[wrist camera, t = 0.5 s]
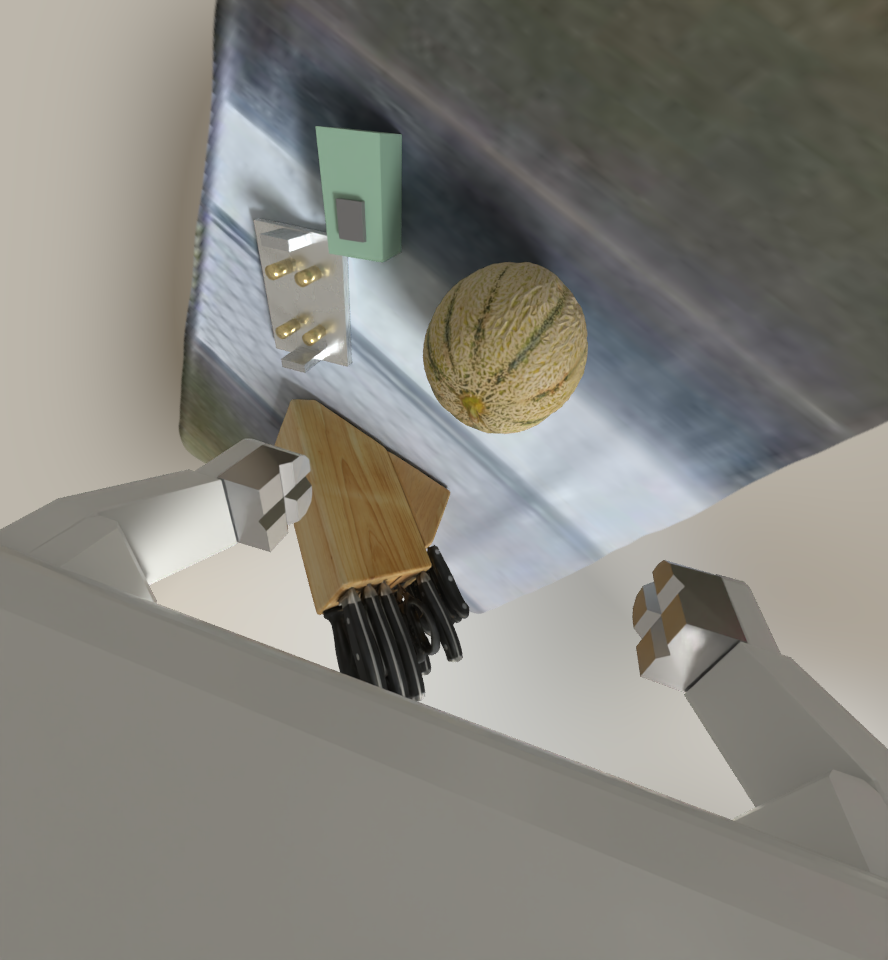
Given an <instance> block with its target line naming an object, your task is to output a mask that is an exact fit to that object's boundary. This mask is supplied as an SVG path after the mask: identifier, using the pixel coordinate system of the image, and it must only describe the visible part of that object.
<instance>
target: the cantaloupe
mask: <svg viewBox="0 0 888 960" xmlns="http://www.w3.org/2000/svg"><path fill="white" fill-rule="evenodd" d="M587 348H588V342H587V329H586V323H585V318H584V314H583V312H582V308H581V306H580V305H579V304H578V302H577V301H576V299H575V297H574V296H573V294H572V293H571V291H570V290H569V289H568V288H567V287H566V286H565V285H564V284H563V283H562V281H561V280H560V279H559V278H558V277H557V276H556V275H555V274H553V273H552V272H551V271H549V270H548V269H546V268H544V267H542V266H539V265H537V264H532V263H530V262H523V263H512V262H504V263H498V264H491V265H490V266H486V267H485V268H482V269H479V270H477V271H476V272H474V273H473V274H470V275H469V276H468V277H466V278H464V279H462V280H461V281H459V282H458V283H457V284H456V285H455V286H454V287H452V289H451V290H450V291H449V292H448V293H447V294H446V295H445V296H444V298H443V299H442V301H441V303H440V304H439V305H438V307H437V308H436V311H435V313H434V315H433V317H432V320H431V322H430V324H429V327H428V329H427V333H426V335H425V341H424V349H423V362H424V370H425V372H426V376H427V379H428V381H429V383H430V385H431V388H432V391H433V393H434V395H435V397H436V398H437V400H438V401H439V403H440V404H441V405H442V406H443V407H444V408H445V409H446V410H447V411H449V412H450V413H451V414H452V415H453V416H454V417H455V418H456V419H458V420H459V421H460V422H462V423H464V424H465V425H467V426H470V427H473V428H475V429H478V430H480V431H483V432H486V433H504V434H508V433H516V432H520V431H524V430H526V429H529V428H531V427H533V426H535V425H538V424H539V423H540V422H542V421H543V420H544V419H546V418H547V417H548V416H549V415H550V414H551V413H553V412H556V411H557V410H558V409H559V408H561V407H562V406H563V404H564V403H565V402H566V401H567V400H569V398H570V396H571V394H572V393H573V392H574V390H575V389H576V387H577V385H578V383H579V381H580V379H581V377H582V376H583V374H584V369H585V364H586V360H587Z"/></svg>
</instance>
